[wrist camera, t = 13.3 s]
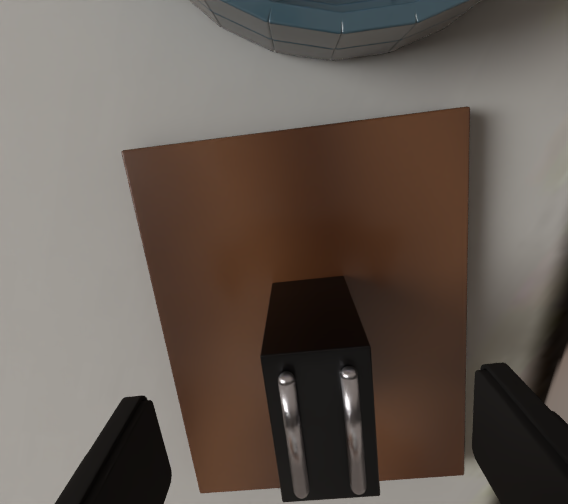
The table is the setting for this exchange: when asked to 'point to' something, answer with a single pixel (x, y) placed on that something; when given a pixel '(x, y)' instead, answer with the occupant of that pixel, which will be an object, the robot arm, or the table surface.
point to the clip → (320, 391)
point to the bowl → (333, 23)
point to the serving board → (313, 277)
